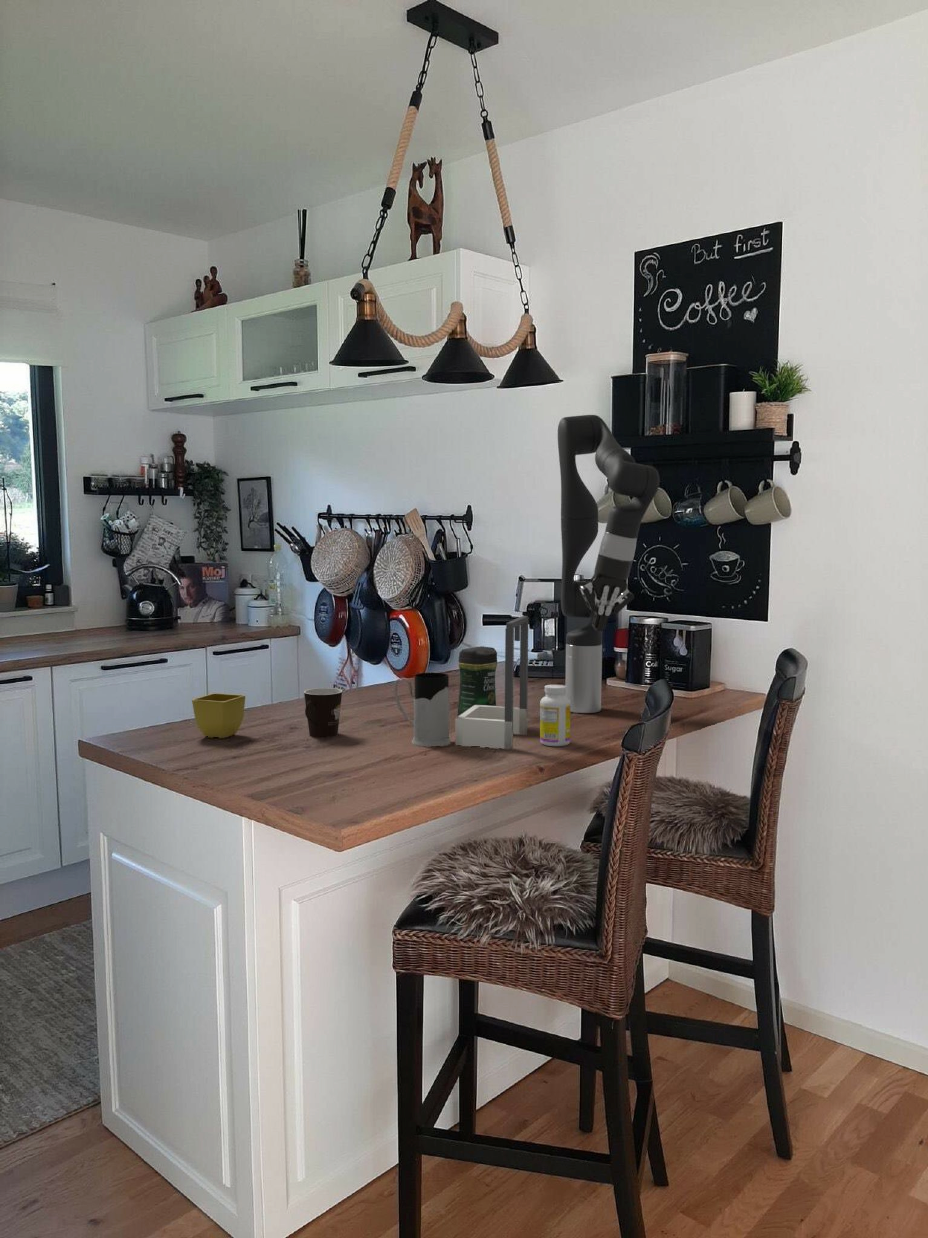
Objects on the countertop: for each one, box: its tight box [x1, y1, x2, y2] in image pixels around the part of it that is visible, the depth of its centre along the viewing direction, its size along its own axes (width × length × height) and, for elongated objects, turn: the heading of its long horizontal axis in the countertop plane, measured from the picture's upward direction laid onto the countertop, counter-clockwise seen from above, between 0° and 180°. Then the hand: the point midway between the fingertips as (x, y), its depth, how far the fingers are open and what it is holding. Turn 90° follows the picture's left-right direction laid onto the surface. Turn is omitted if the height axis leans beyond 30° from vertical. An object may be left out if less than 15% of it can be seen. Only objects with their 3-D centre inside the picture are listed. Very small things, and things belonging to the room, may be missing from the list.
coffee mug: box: [303, 687, 343, 739], centre depth 220 cm, size 12×9×10 cm
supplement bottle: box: [539, 684, 571, 747], centre depth 213 cm, size 7×7×13 cm
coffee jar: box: [456, 646, 498, 718], centre depth 234 cm, size 10×8×19 cm
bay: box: [454, 615, 529, 750], centre depth 216 cm, size 16×12×27 cm
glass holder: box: [393, 672, 452, 748], centre depth 215 cm, size 9×14×15 cm, turn 59°
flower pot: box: [191, 692, 246, 739], centre depth 219 cm, size 9×9×9 cm
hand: (597, 629), depth 215 cm, fingers closed
